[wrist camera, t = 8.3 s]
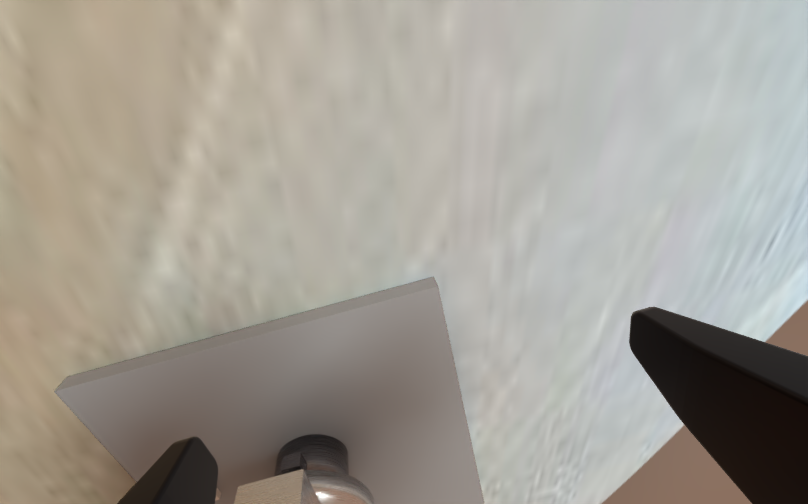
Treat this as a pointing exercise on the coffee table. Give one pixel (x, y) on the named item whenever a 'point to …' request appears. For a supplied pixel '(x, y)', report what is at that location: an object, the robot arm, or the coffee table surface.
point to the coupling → (305, 489)
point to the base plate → (301, 398)
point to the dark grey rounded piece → (313, 455)
